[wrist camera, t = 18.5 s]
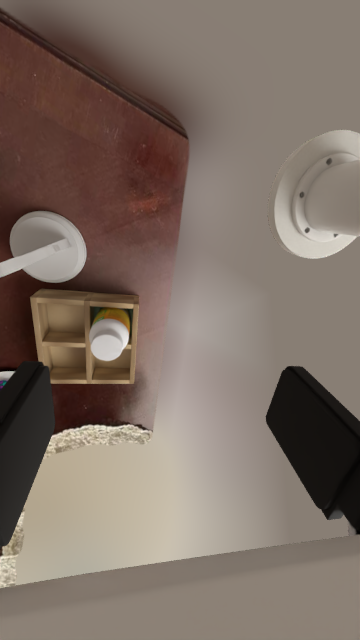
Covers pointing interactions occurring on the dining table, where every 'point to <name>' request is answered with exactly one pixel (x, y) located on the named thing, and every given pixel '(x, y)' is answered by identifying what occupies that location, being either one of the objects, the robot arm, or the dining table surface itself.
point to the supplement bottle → (109, 333)
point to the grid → (80, 336)
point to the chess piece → (45, 248)
